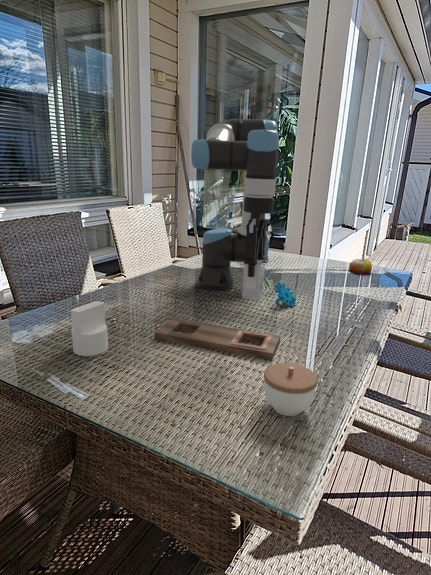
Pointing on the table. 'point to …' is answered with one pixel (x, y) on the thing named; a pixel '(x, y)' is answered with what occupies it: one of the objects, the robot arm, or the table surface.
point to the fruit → (360, 266)
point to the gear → (285, 295)
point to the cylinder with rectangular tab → (89, 329)
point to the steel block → (258, 292)
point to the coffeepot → (269, 242)
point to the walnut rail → (219, 338)
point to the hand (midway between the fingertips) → (253, 285)
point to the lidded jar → (289, 388)
